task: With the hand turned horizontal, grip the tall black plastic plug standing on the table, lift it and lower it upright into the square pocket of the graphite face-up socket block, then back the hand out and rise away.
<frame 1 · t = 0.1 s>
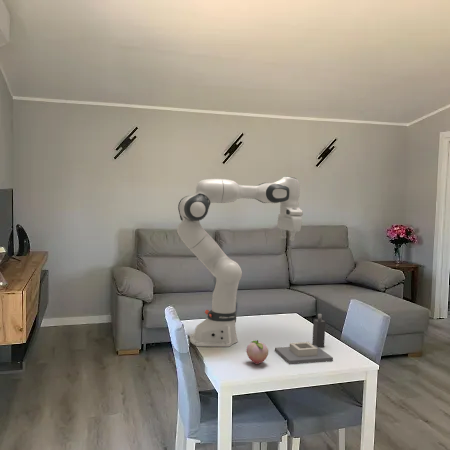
hand: (287, 239, 224), 48 cm above the table, tool pointing down, fingers open, 8 cm apart
socket: (303, 355, 203), on the table
decorative fruit: (257, 364, 191), on the table
plug: (318, 345, 217), on the table
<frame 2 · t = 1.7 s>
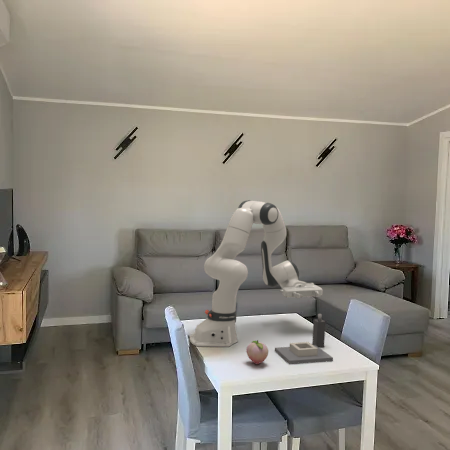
hand: (309, 295, 227), 21 cm above the table, tool horizontal, fingers open, 8 cm apart
nothing on the table moved.
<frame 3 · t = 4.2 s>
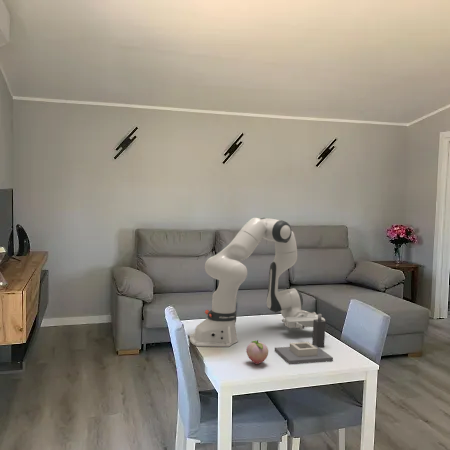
hand: (311, 326, 223), 7 cm above the table, tool horizontal, fingers open, 8 cm apart
nothing on the table moved.
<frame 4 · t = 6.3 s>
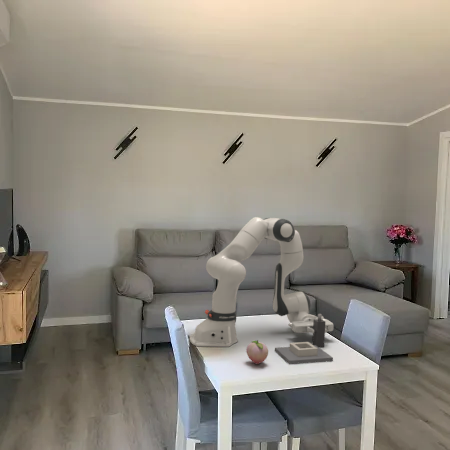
hand: (319, 331, 215), 7 cm above the table, tool horizontal, fingers closed on plug, 4 cm apart
plug: (318, 345, 217), on the table, touching gripper
everything else where it was.
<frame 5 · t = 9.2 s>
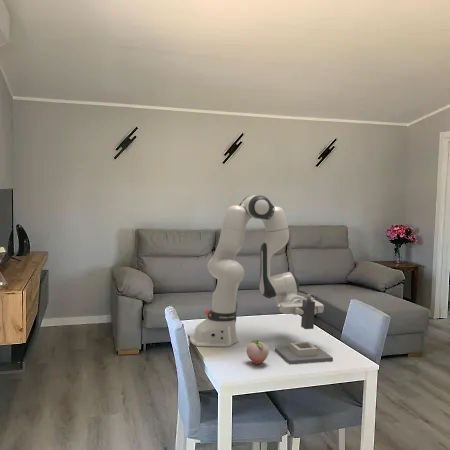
hand: (309, 312, 203), 19 cm above the table, tool horizontal, fingers closed on plug, 4 cm apart
plug: (307, 327, 205), point 12 cm above the table, touching gripper
everything else where it was.
when the fingers open (10 cm above the table, at t = 12.2 s): plug stays where it is, resting on socket.
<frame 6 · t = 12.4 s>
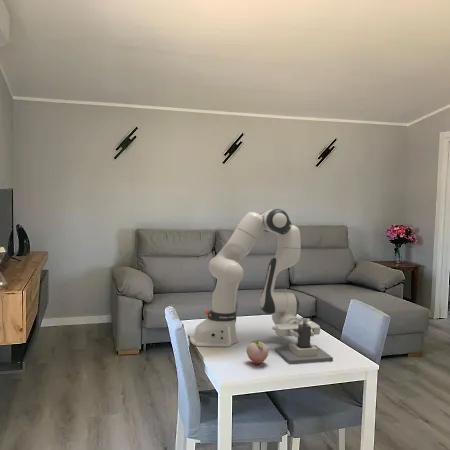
hand: (305, 335, 201), 10 cm above the table, tool horizontal, fingers open, 5 cm apart
plug: (303, 352, 202), point 2 cm above the table, touching socket
everything else where it was.
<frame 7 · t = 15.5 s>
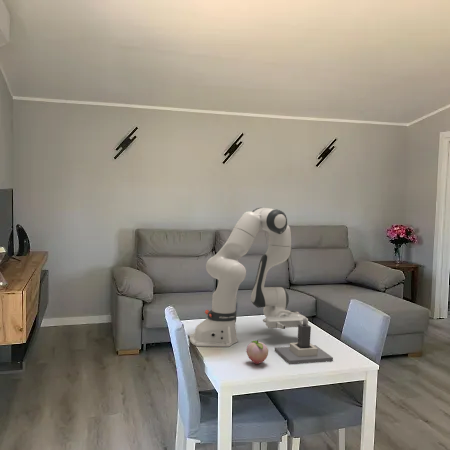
hand: (293, 326, 213), 10 cm above the table, tool horizontal, fingers open, 8 cm apart
nothing on the table moved.
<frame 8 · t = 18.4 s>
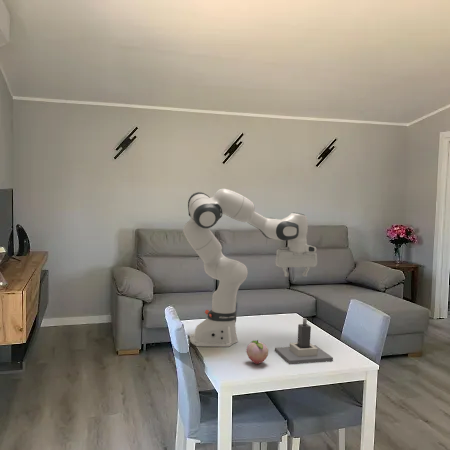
hand: (295, 276, 221), 31 cm above the table, tool pointing down, fingers open, 8 cm apart
nothing on the table moved.
at the end: plug 0.0 cm off-centre on the socket, point 1.5 cm above the socket's base; plug tilted 0°; the gripper is holding nothing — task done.
